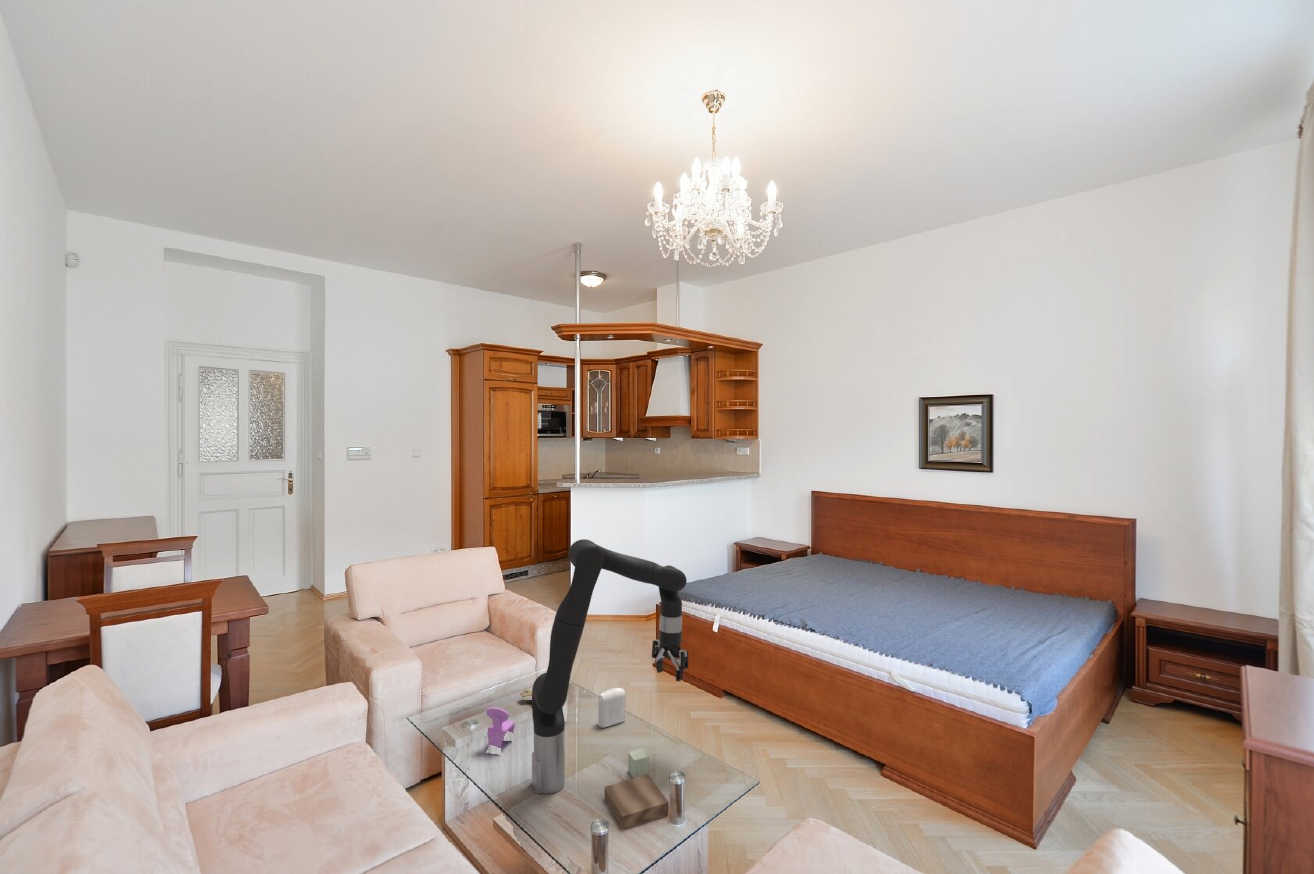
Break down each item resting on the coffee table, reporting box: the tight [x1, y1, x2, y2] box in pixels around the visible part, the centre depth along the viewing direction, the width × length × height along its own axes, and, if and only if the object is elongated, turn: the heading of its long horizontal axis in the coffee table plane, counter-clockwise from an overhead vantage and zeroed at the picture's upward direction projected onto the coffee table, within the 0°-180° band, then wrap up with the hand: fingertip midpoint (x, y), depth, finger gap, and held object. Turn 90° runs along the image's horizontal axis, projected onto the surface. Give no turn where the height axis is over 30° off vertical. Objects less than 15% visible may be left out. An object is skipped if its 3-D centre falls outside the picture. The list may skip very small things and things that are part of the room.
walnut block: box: [604, 774, 670, 830], centre depth 169 cm, size 14×14×4 cm
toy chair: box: [485, 706, 516, 749], centre depth 198 cm, size 8×9×15 cm
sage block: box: [627, 747, 650, 779], centre depth 185 cm, size 5×5×6 cm
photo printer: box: [597, 687, 626, 729], centre depth 214 cm, size 10×4×12 cm, turn 123°
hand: (669, 676), depth 194 cm, fingers open, 8 cm apart
